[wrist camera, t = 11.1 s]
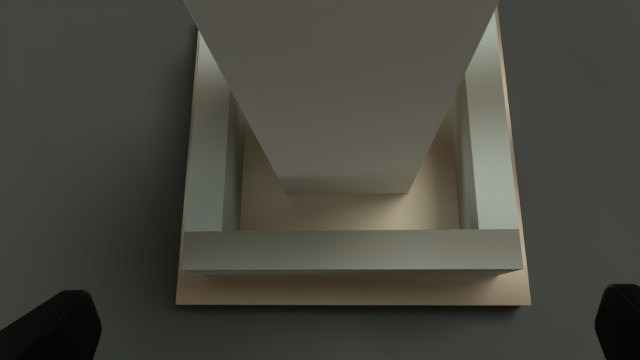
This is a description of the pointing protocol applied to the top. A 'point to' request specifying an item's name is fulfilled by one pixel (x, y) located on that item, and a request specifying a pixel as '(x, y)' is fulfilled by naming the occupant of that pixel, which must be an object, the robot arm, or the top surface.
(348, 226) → the jig
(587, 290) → the top surface
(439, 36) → the fuselage block
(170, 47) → the top surface
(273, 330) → the top surface
